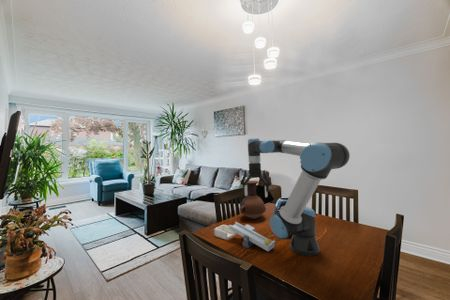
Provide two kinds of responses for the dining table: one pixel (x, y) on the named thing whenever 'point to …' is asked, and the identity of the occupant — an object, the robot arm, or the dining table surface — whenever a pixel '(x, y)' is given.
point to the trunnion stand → (247, 242)
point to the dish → (224, 232)
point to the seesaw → (251, 235)
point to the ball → (267, 241)
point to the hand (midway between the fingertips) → (256, 196)
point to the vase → (252, 202)
